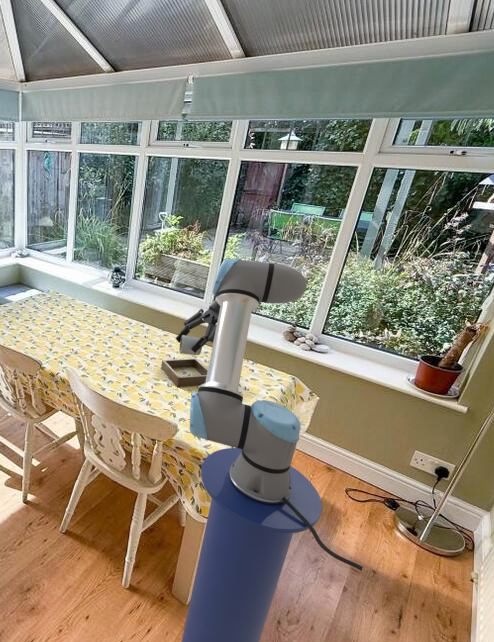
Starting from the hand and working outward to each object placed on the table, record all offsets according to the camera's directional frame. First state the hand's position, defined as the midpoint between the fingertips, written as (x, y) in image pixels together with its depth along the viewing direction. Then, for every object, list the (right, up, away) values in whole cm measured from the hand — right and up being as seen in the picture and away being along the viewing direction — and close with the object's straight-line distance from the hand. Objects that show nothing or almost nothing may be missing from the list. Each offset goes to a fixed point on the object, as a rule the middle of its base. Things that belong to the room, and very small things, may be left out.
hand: (184, 345), depth 168 cm
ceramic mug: (+2, -3, +3) cm, 5 cm away
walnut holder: (+3, -14, +7) cm, 16 cm away
